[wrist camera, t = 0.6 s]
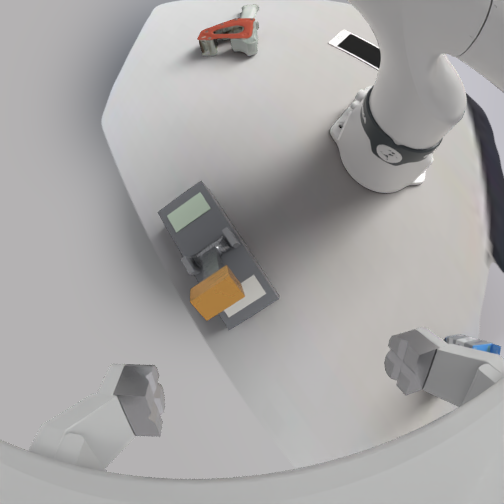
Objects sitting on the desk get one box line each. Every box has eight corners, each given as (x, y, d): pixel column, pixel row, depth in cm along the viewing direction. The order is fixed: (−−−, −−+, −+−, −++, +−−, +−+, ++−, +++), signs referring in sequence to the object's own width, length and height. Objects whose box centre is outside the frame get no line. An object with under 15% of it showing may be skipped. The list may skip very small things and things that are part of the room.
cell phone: (343, 30, 47) (343, 29, 46) (403, 64, 44) (404, 62, 44) (327, 44, 47) (327, 42, 46) (392, 80, 44) (393, 79, 44)
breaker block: (279, 295, 43) (278, 300, 34) (236, 323, 43) (224, 334, 34) (211, 192, 46) (195, 173, 37) (172, 220, 46) (148, 207, 37)
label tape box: (445, 336, 39) (485, 349, 27) (462, 333, 38) (502, 345, 26) (439, 381, 38) (474, 405, 26) (455, 378, 37) (491, 398, 25)
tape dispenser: (254, 13, 51) (185, 42, 51) (252, -2, 46) (180, 27, 46) (300, 40, 48) (224, 74, 47) (301, 23, 43) (219, 56, 42)
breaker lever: (231, 246, 39) (247, 294, 26) (201, 266, 39) (204, 322, 26) (220, 231, 38) (232, 274, 25) (190, 252, 38) (187, 303, 25)
